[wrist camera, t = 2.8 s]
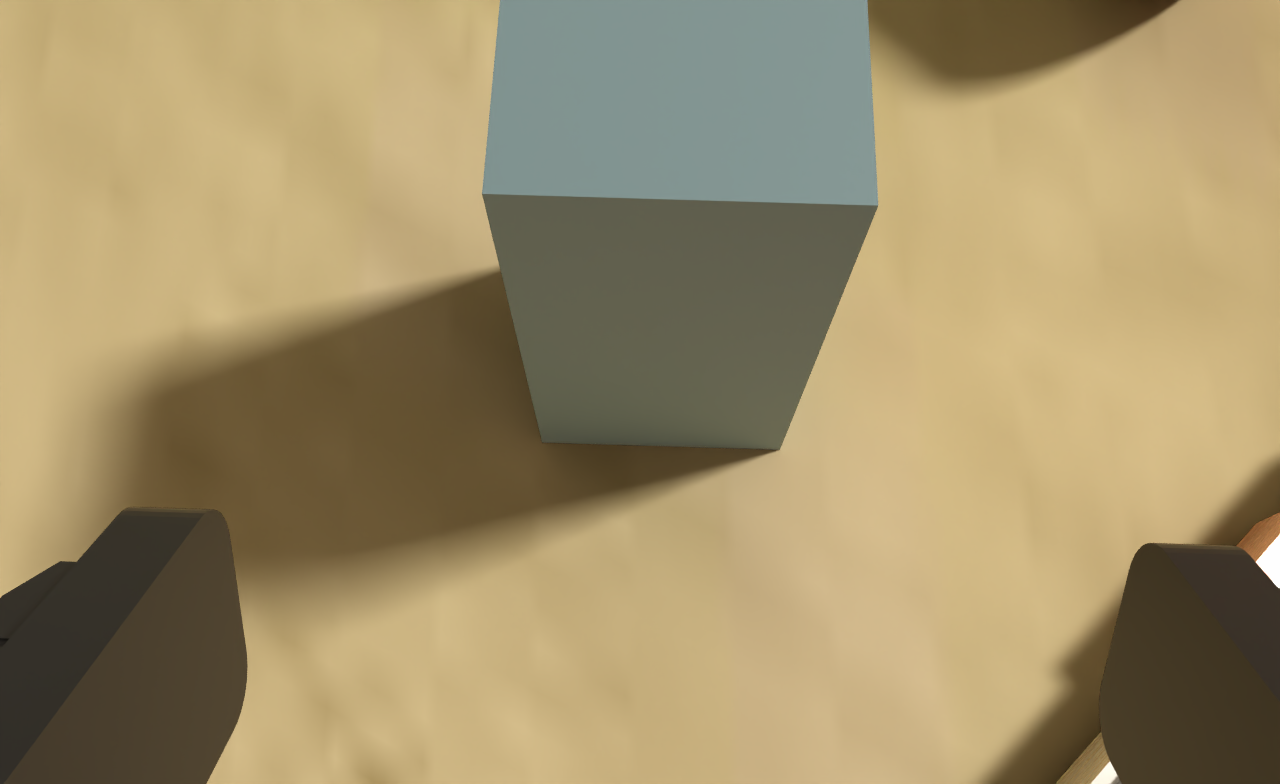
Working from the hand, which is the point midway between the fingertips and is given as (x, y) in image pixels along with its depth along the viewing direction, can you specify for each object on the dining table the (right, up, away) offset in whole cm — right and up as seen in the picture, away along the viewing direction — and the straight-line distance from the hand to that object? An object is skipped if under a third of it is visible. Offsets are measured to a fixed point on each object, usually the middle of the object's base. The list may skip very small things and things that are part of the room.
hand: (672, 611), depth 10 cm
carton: (0, +3, +14) cm, 15 cm away
